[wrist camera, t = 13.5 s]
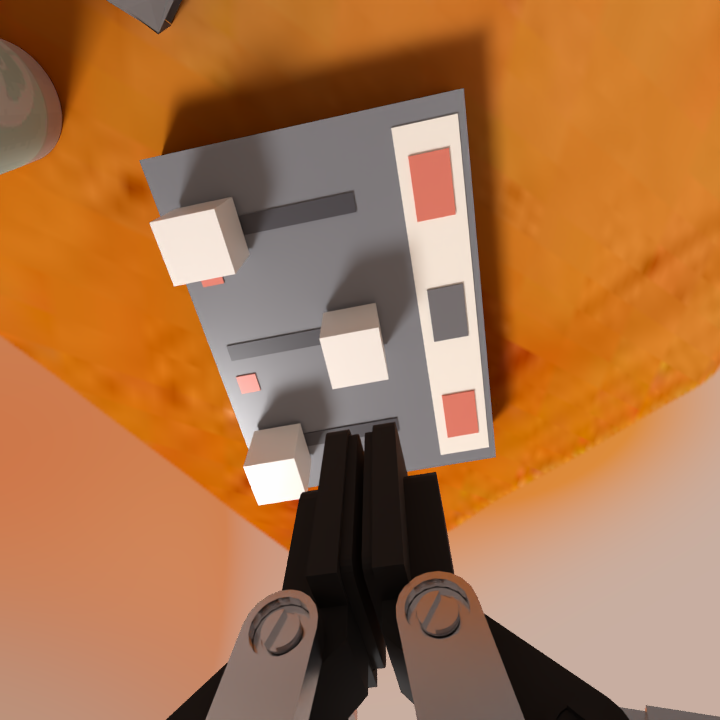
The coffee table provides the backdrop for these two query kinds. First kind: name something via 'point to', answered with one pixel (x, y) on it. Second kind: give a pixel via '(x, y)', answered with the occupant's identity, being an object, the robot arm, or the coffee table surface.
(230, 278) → the switch unit
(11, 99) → the coffee cup
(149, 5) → the electrical switch
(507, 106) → the coffee table surface
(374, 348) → the middle switch
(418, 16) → the coffee table surface
